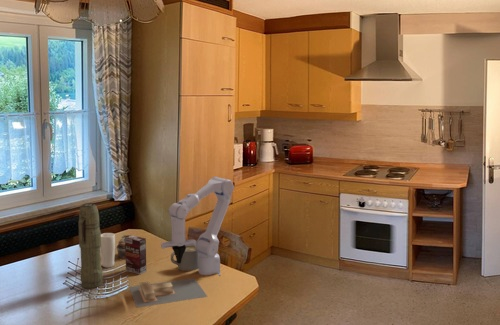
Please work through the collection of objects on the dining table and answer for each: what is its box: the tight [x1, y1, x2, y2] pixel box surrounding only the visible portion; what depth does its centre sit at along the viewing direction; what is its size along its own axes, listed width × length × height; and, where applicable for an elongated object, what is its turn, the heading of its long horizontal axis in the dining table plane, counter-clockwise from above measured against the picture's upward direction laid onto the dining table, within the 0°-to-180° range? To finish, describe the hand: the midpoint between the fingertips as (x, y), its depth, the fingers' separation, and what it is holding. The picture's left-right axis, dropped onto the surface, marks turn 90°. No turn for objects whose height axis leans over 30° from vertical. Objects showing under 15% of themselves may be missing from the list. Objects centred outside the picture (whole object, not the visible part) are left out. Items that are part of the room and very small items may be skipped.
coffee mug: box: [170, 245, 198, 272], centre depth 234 cm, size 13×10×10 cm
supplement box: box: [125, 234, 147, 275], centre depth 229 cm, size 9×5×16 cm, turn 62°
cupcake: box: [116, 234, 132, 259], centre depth 250 cm, size 10×10×10 cm
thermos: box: [77, 202, 103, 290], centre depth 212 cm, size 9×12×35 cm
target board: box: [128, 277, 208, 308], centre depth 207 cm, size 28×20×1 cm
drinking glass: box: [100, 232, 116, 268], centre depth 236 cm, size 7×7×15 cm
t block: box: [139, 280, 173, 302], centre depth 205 cm, size 12×12×3 cm
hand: (178, 262), depth 216 cm, fingers closed
